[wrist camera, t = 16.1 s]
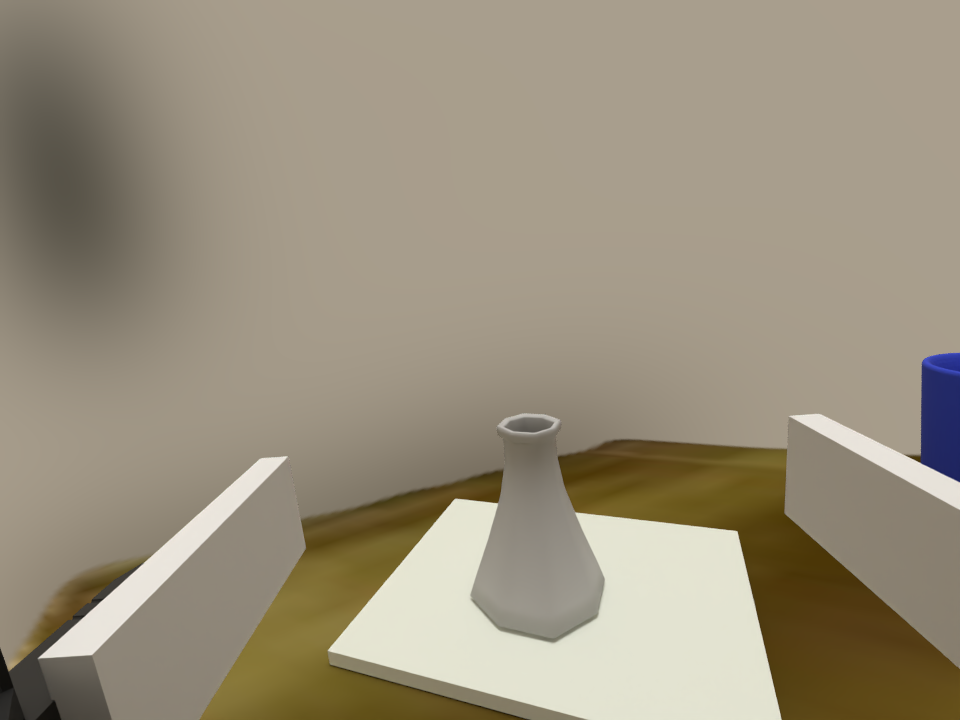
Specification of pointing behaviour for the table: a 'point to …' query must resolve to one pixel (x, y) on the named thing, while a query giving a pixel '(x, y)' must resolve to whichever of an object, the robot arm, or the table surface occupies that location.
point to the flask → (536, 540)
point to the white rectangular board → (576, 629)
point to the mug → (941, 414)
